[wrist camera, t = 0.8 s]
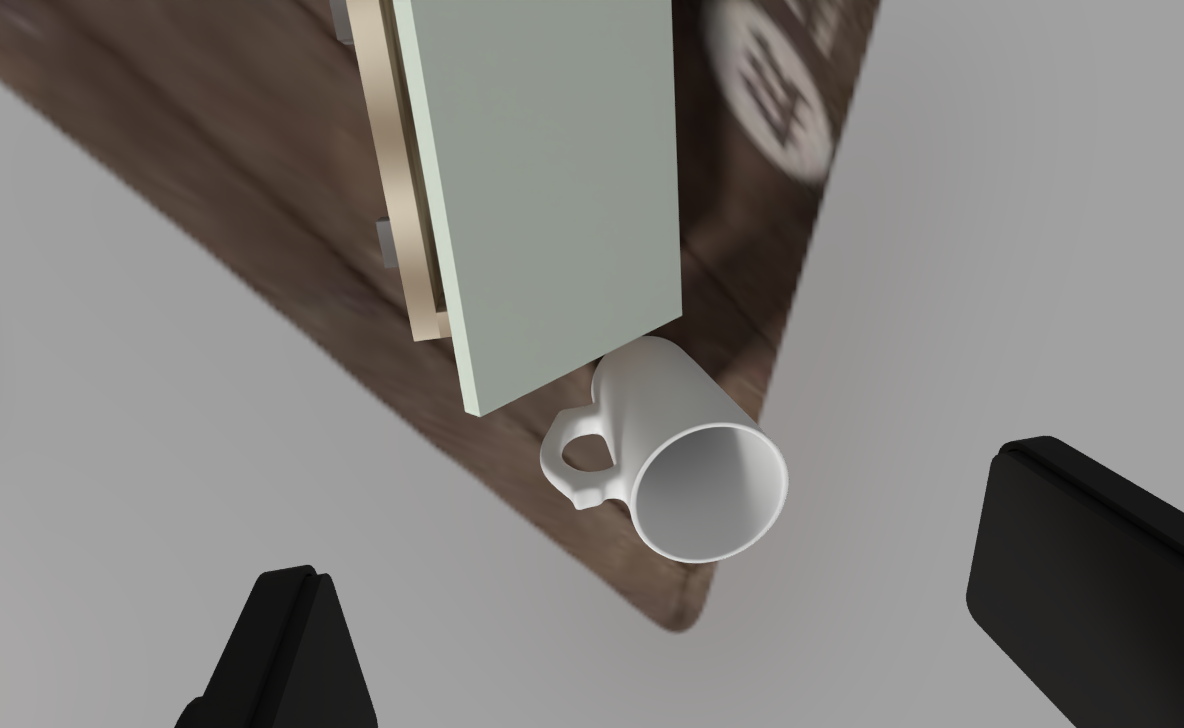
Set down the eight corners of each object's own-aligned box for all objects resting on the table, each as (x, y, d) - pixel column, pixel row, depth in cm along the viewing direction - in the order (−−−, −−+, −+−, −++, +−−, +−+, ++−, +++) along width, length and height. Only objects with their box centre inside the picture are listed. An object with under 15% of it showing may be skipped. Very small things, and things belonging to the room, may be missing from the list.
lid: (343, -275, 15) (361, -292, 15) (648, -157, 24) (665, -164, 23) (465, 411, 22) (480, 417, 22) (668, 313, 30) (682, 315, 30)
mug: (698, 323, 36) (792, 411, 25) (699, 428, 39) (785, 549, 28) (523, 345, 35) (542, 447, 24) (535, 451, 38) (558, 588, 27)
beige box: (330, -91, 27) (301, -133, 23) (620, -106, 28) (646, -148, 24) (411, 313, 34) (401, 342, 29) (643, 284, 35) (666, 308, 31)
